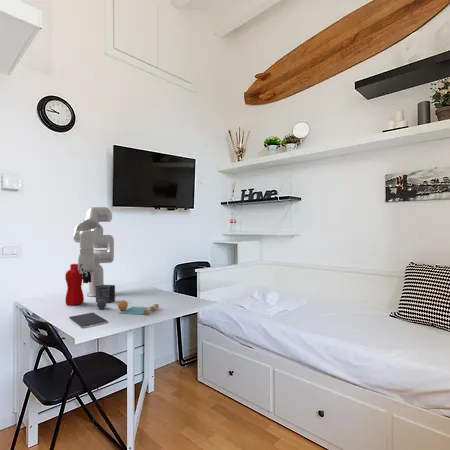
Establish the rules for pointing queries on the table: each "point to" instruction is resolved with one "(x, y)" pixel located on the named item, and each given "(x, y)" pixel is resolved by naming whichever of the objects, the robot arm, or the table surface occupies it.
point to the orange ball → (122, 305)
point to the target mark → (135, 310)
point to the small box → (105, 293)
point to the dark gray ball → (101, 304)
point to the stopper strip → (151, 309)
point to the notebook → (87, 319)
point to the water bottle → (74, 286)
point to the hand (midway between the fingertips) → (87, 282)
